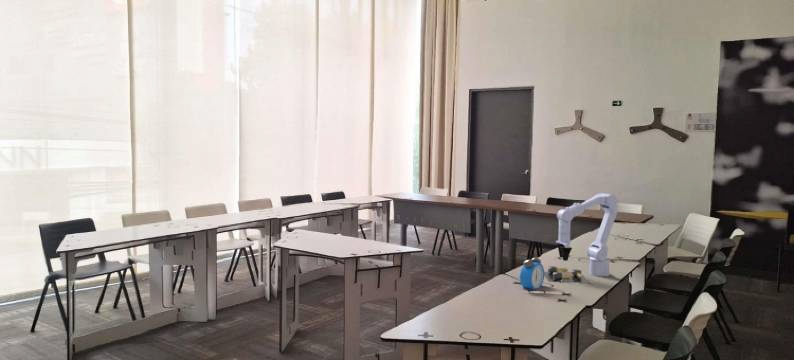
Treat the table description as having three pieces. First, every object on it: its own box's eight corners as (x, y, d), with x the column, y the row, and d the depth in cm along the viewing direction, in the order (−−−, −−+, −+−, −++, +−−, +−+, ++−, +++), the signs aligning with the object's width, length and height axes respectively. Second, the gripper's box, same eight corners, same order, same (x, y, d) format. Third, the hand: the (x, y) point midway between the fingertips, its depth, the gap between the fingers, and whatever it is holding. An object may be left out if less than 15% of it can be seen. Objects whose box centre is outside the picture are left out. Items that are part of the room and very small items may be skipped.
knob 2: (553, 280, 264) (554, 273, 264) (552, 277, 269) (552, 271, 268) (574, 280, 263) (574, 274, 263) (572, 278, 268) (572, 272, 268)
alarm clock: (530, 293, 247) (531, 261, 246) (518, 290, 251) (519, 259, 250) (544, 287, 256) (545, 257, 255) (533, 285, 260) (533, 255, 259)
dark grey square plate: (579, 274, 281) (579, 270, 281) (589, 284, 261) (590, 280, 261) (541, 273, 283) (541, 269, 282) (548, 284, 263) (548, 279, 263)
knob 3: (571, 275, 274) (571, 269, 273) (579, 275, 273) (580, 269, 273) (576, 280, 264) (576, 274, 263) (585, 280, 263) (585, 274, 263)
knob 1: (548, 274, 276) (549, 268, 276) (547, 272, 280) (547, 266, 280) (568, 274, 275) (568, 268, 275) (566, 272, 280) (566, 266, 279)
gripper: (553, 230, 279) (552, 255, 280) (559, 235, 264) (558, 261, 265) (567, 230, 278) (566, 255, 279) (573, 235, 264) (573, 262, 265)
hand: (563, 258), depth 272 cm, fingers open, 7 cm apart
